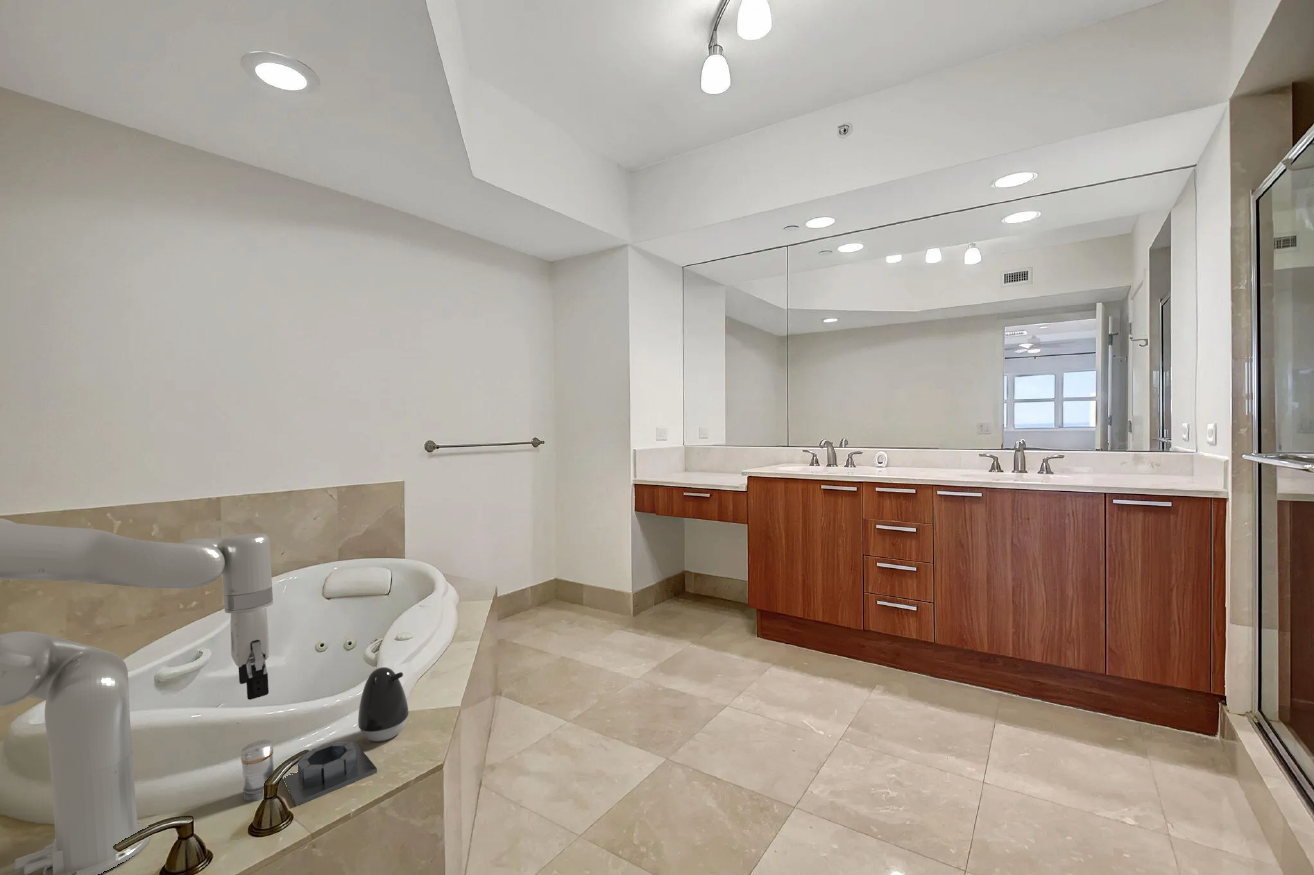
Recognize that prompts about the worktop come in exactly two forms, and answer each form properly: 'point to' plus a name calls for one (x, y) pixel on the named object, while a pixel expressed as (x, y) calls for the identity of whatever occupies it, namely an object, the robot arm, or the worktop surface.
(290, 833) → the worktop surface
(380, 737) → the pump dispenser
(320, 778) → the bore block
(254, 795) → the piston
